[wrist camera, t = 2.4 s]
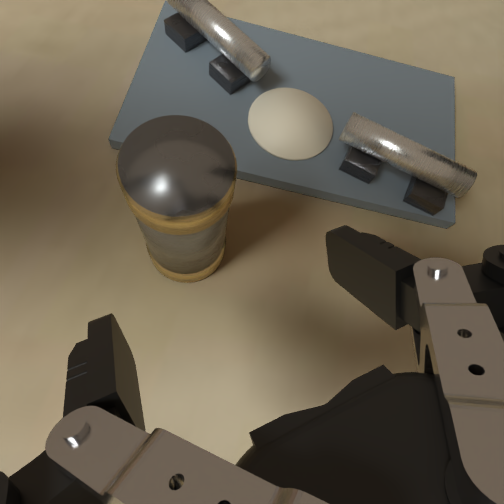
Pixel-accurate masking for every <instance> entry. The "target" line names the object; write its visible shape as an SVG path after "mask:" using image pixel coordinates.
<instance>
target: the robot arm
mask: <svg viewBox="0 0 504 504" xmlns="http://www.w3.org/2000/svg"><path fill="white" fill-rule="evenodd" d="M326 246H327V256H328V265H329V270H330V273H331V275H332V277H333V279H334V280H335V281H336V282H337V283H338V284H339V285H340V286H342V287H343V288H344V289H345V290H347V291H348V292H349V293H350V294H352V295H353V296H354V297H355V298H356V299H358V300H359V301H360V302H361V303H363V304H364V305H365V306H366V307H368V308H369V309H370V310H371V311H373V312H374V313H375V314H376V315H377V316H379V317H380V318H381V319H382V320H384V321H385V322H386V323H387V324H389V325H390V326H391V327H392V328H394V329H395V330H397V329H399V328H401V327H403V326H405V325H407V324H409V325H410V326H412V330H411V335H412V342H413V348H414V355H415V362H416V368H417V372H405V373H396V374H392V373H391V372H390V371H389V370H388V369H387V368H386V367H385V366H384V365H382V366H380V367H378V368H376V369H374V370H372V371H370V372H368V373H366V374H364V375H362V376H360V377H358V378H356V379H354V380H352V381H351V382H350V383H349V384H348V385H347V386H346V387H345V388H344V389H342V390H341V391H340V392H339V393H338V394H337V395H336V396H335V397H334V398H332V399H331V400H330V401H329V402H328V403H327V404H325V405H322V406H318V407H314V408H310V409H306V410H302V411H298V412H293V413H289V414H285V415H283V416H281V417H279V418H277V419H275V420H273V421H271V422H269V423H267V424H265V425H263V426H261V427H259V428H257V429H255V430H253V431H251V432H249V434H250V437H251V440H252V443H253V446H252V447H251V448H250V449H249V450H247V452H246V453H245V454H244V455H243V456H242V457H241V458H240V459H239V461H238V462H237V464H236V465H234V464H232V463H230V462H228V461H226V460H224V459H222V458H220V457H218V456H216V455H214V454H212V453H210V452H208V451H206V450H204V449H202V448H200V447H198V446H196V445H194V444H192V443H190V442H188V441H186V440H184V439H182V438H180V437H178V436H176V435H174V434H172V433H170V432H168V431H166V430H164V429H161V428H156V429H155V430H154V431H153V432H152V433H151V434H149V433H147V432H146V431H145V425H144V418H143V411H142V405H141V398H140V391H139V385H138V378H137V371H136V365H135V361H134V358H133V355H132V352H131V350H130V347H129V345H128V343H127V341H126V339H125V337H124V335H123V333H122V331H121V329H120V327H119V325H118V323H117V321H116V319H115V317H114V315H113V314H112V313H111V314H109V315H106V316H103V317H101V318H98V319H95V320H93V321H90V322H88V339H86V340H84V341H81V342H79V343H76V345H75V347H74V348H73V350H72V352H71V353H70V355H69V357H68V368H67V369H68V371H67V382H66V389H65V400H64V411H63V418H62V419H61V420H60V421H59V422H58V423H57V424H56V425H55V427H54V428H53V429H52V431H51V432H50V434H49V436H48V438H47V441H46V446H45V449H46V450H45V451H43V452H42V453H41V454H40V455H39V456H38V457H36V458H35V459H34V460H32V461H31V462H30V463H28V464H27V465H25V466H24V467H23V468H21V469H20V470H19V471H17V472H16V473H14V474H13V475H12V476H10V477H9V478H8V477H7V476H6V475H5V474H4V473H3V472H0V504H504V245H497V246H492V247H490V248H487V249H486V250H485V251H484V253H483V260H482V263H478V264H473V265H467V266H462V267H461V266H460V265H459V264H458V263H456V262H454V261H452V260H449V259H445V258H426V259H422V260H421V259H419V258H417V257H415V256H413V255H412V254H410V253H408V252H406V251H404V250H402V249H400V248H398V247H394V245H393V244H391V243H389V242H386V241H385V240H383V239H381V238H380V237H378V236H376V235H372V234H367V233H360V232H358V231H356V230H354V229H352V228H351V227H349V226H346V225H345V226H342V227H339V228H337V229H334V230H331V231H329V232H327V233H326Z"/></svg>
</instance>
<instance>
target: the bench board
mask: <svg viewBox="0 0 504 504" xmlns="http://www.w3.org/2000/svg"><path fill="white" fill-rule="evenodd" d="M175 13H177V11H175V10H174V9H173V8H172V7H171V6H170V5H169V4H168V2H167V1H165V3H164V5H163V7H162V10H161V12H160V15H159V17H158V20H157V22H156V25H155V27H154V29H153V32H152V34H151V37H150V39H149V42H148V44H147V46H146V49H145V51H144V54H143V56H142V59H141V61H140V63H139V66H138V68H137V71H136V73H135V76H134V78H133V80H132V83H131V85H130V88H129V90H128V93H127V95H126V97H125V100H124V102H123V105H122V107H121V110H120V112H119V114H118V117H117V119H116V122H115V124H114V127H113V129H112V131H111V134H110V136H109V139H108V140H109V142H110V145H111V147H112V148H114V149H118V150H120V148H121V146H122V144H123V142H124V141H125V139H126V138H127V136H128V135H129V134H130V133H131V132H132V131H133V130H134V129H135V128H137V127H138V126H140V125H141V124H143V123H145V122H147V121H149V120H151V119H154V118H157V117H161V116H168V115H184V116H190V117H194V118H197V119H200V120H202V121H205V122H207V123H208V124H210V125H212V126H213V127H214V128H216V129H217V130H218V131H219V132H220V133H221V134H222V135H223V136H224V137H225V138H226V139H227V141H228V142H229V144H230V145H231V147H232V149H233V151H234V153H235V157H236V162H237V175H236V178H238V179H243V180H247V181H251V182H255V183H259V184H263V185H268V186H272V187H276V188H280V189H284V190H288V191H292V192H297V193H301V194H305V195H309V196H313V197H317V198H322V199H326V200H330V201H334V202H338V203H342V204H346V205H351V206H355V207H359V208H363V209H367V210H371V211H376V212H380V213H384V214H388V215H392V216H396V217H400V218H405V219H409V220H413V221H417V222H421V223H425V224H430V225H434V226H438V227H442V228H446V229H447V228H448V227H450V226H451V225H453V224H455V197H454V196H452V195H450V194H448V196H447V199H446V202H445V205H444V208H443V209H442V210H441V211H439V212H438V213H437V214H435V215H434V216H432V215H430V214H428V213H426V212H424V211H421V210H419V209H417V208H415V207H413V206H411V205H409V204H407V203H405V202H403V198H404V195H405V193H406V190H407V187H408V185H409V182H410V179H411V177H412V175H410V174H408V173H406V172H403V171H401V170H399V169H397V168H395V167H393V166H391V165H389V164H387V163H385V162H383V161H382V162H381V164H380V167H379V169H378V172H377V174H376V176H375V177H374V178H373V179H372V181H371V182H370V183H369V184H367V183H365V182H363V181H361V180H359V179H357V178H355V177H353V176H351V175H349V174H347V173H345V172H343V171H341V170H338V169H339V167H340V165H341V163H342V161H343V159H344V157H345V155H346V152H347V150H348V148H349V146H350V145H348V144H346V143H344V142H342V141H340V140H339V138H340V135H341V133H342V131H343V129H344V128H345V126H346V124H347V122H348V120H349V118H350V116H351V115H352V113H353V112H355V113H357V114H359V115H361V116H364V117H366V118H368V119H370V120H372V121H374V122H376V123H378V124H380V125H382V126H384V127H386V128H388V129H390V130H392V131H394V132H396V133H399V134H401V135H403V136H405V137H407V138H409V139H411V140H413V141H415V142H417V143H419V144H421V145H423V146H425V147H427V148H429V149H431V150H434V151H436V152H438V153H440V154H442V155H444V156H446V157H448V158H450V159H452V160H454V161H455V93H454V77H452V76H448V75H444V74H440V73H437V72H433V71H429V70H425V69H421V68H418V67H414V66H410V65H406V64H403V63H399V62H395V61H391V60H387V59H384V58H380V57H376V56H372V55H369V54H365V53H361V52H357V51H353V50H350V49H346V48H342V47H338V46H334V45H331V44H327V43H323V42H319V41H316V40H312V39H308V38H304V37H300V36H297V35H293V34H289V33H285V32H282V31H278V30H274V29H270V28H266V27H263V26H259V25H255V24H251V23H248V22H244V21H240V20H236V19H232V18H229V17H227V18H228V19H229V20H230V21H231V22H232V23H233V24H235V25H236V26H237V27H238V28H239V29H240V30H241V31H242V32H243V33H245V34H246V35H247V36H248V37H249V38H250V39H251V40H252V41H253V42H255V43H256V44H257V45H258V46H259V47H260V48H261V49H262V50H264V51H265V52H266V53H267V54H268V55H269V56H270V57H271V63H270V66H269V68H268V70H267V72H266V73H265V75H264V76H263V77H262V78H261V79H259V80H258V81H256V82H253V81H251V82H250V83H248V84H247V85H245V86H243V87H242V88H240V89H239V90H237V91H236V92H234V93H233V94H231V95H230V94H229V93H227V92H226V91H225V90H224V89H223V88H222V87H221V86H220V85H219V84H218V83H217V82H216V81H215V80H214V79H213V78H212V77H211V76H209V62H210V61H212V60H213V59H215V58H217V57H218V56H220V55H222V53H221V52H220V51H219V50H218V49H217V48H216V47H214V46H213V45H212V44H211V43H210V42H209V41H208V40H207V41H205V42H204V43H202V44H200V45H198V46H197V47H195V48H193V49H192V50H190V51H188V52H186V53H185V52H184V51H183V50H182V49H181V48H180V47H179V46H178V45H177V44H176V43H175V42H174V41H172V40H171V39H170V38H169V37H168V36H167V35H166V34H165V25H164V19H166V18H168V17H170V16H172V15H174V14H175Z"/></svg>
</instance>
